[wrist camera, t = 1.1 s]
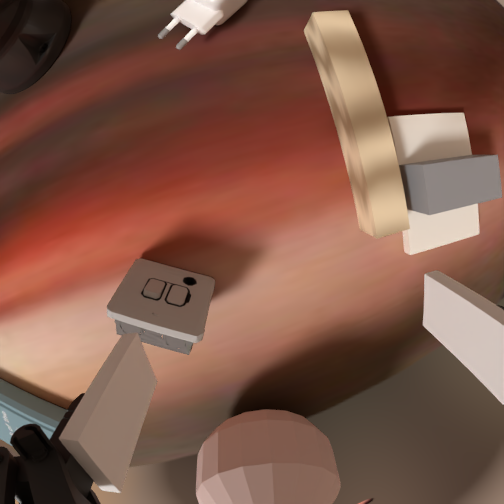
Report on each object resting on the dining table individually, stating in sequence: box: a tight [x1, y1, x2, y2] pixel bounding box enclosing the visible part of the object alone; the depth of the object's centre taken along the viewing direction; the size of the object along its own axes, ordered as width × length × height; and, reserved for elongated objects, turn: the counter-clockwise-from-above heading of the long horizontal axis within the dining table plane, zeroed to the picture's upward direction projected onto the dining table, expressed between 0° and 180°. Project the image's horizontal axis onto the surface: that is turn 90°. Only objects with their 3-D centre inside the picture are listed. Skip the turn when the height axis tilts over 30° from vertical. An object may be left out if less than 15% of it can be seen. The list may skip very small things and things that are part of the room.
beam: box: [304, 10, 410, 239], centre depth 28 cm, size 24×4×5 cm, turn 15°
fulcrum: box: [387, 113, 502, 255], centre depth 29 cm, size 16×12×6 cm
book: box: [0, 379, 68, 446], centre depth 38 cm, size 23×16×5 cm
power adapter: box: [158, 0, 248, 50], centre depth 24 cm, size 11×5×6 cm, turn 141°
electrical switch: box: [107, 258, 215, 355], centre depth 30 cm, size 9×5×9 cm, turn 74°
